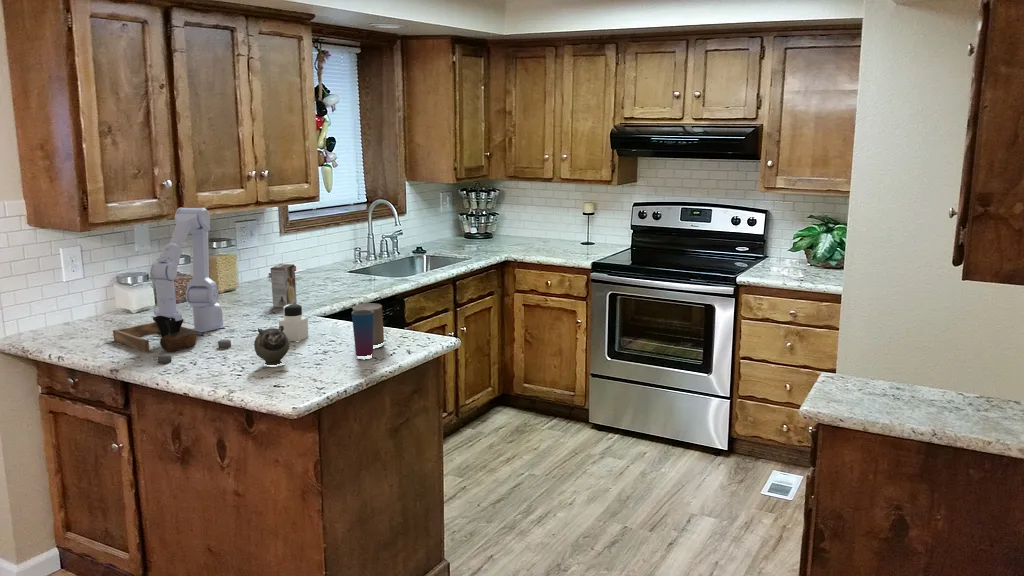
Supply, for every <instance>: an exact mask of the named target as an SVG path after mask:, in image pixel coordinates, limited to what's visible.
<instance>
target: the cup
mask: <svg viewBox="0 0 1024 576" xmlns="http://www.w3.org/2000/svg"><path fill="white" fill-rule="evenodd" d="M373 314H374V312H373V311H372V310H356V311H353V310H352V311H351V319H352V320H351V321H352V330H353V340H354V348H355V356H356V355H357V356H367V355H371V354H372V353H374V350H373Z"/></svg>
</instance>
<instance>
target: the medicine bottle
mask: <svg viewBox="0 0 1024 576" xmlns="http://www.w3.org/2000/svg"><path fill="white" fill-rule="evenodd" d="M302 308H303V307H302V305H300V304H299V303H298V304H297V303H294V304H289V305H286V306H284V307H282V309H283V317H284V318H282V319H280V320H279V321H278V328H279V327H280V326H283V327H284V330H283V332H284V333H285V334H286V335H287V337H288V340H289V342H291V341H299V342H301V341H303V340H305V339H307V338H309V322H308V317H307V316H303V310H302ZM306 337H307V338H306ZM304 338H305V339H304ZM302 339H303V340H302ZM300 340H301V341H300Z"/></svg>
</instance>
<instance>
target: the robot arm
mask: <svg viewBox="0 0 1024 576" xmlns="http://www.w3.org/2000/svg"><path fill="white" fill-rule="evenodd" d="M174 214H175V215H174V221H175V227H174V230H173V232H172V236H171V239H170V242H169V243H167V244H165V245H164V247H163V250H162V251H161V253H160V256H159V258H158V260H157V262H155V263H154V264H152V266H151V267H150V271H149V274H150V278H151V279H152V284H153V285H154V286H155V293H156V294H155V295H156V304H157V305H156V306H157V307H156V308H153V315H154V316H153V317H152V320H153V322H155V323H156V324H157V326H158V329H159V331H160V332H159V334H160V337H161V338H162V337H164V336H165V335H168V334H169V333H170V334H172V333H176V332H180V328H181V326H183V323H184V321H185V320H184V318H183V314H182V313H180V312H179V311H178V310H177V302H176V301H177V300H176V298H177V297H176V289H175V287H176V286H175V279H176V278H177V275H178V263H179V260H180V258H181V256H182V254H183V250H182V248H181V247H182V245H183V243H184V242H185V240H186V238H187V236H188V234H189V232H190V234H191V235H192V268H193V269H192V270H193V271H192V273H193V278H192V279H191V280H190V281H189V282H188V283H186V284H187V287H186V291H185V298H186V301H187V303H188V304H189V306H190V307H192V315H193V317H192V318H193V326H192V327H191V326H190V327H189V329H192V330H194V331H195V332H198V333H206V332H209V331H213V330H214V331H215V330H218V329H222V328H225V325H224V321H223V320H224V319H223V318H224V317H223V309H222V306H221V305H220V303H219V302H218V300H219V290H218V285H217V282H216V281H214V280H213V279H211V278H210V263H209V231H211V213H209V211H208V209H206V208H205V207H200V208H199V207H198V208H197V207H183V206H182V207H179V208H177V210H176V211H175V213H174Z"/></svg>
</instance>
